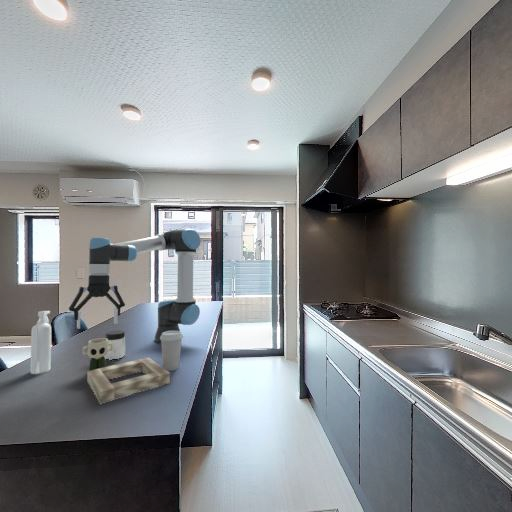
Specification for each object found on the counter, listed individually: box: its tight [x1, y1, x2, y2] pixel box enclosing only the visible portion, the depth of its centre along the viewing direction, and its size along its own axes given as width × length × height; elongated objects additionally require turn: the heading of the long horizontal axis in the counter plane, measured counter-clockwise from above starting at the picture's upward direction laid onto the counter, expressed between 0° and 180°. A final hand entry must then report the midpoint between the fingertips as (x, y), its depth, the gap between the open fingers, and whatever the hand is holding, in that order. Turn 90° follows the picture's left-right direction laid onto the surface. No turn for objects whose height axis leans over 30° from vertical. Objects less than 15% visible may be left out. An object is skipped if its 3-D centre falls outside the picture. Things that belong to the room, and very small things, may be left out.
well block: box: [86, 357, 171, 404], centre depth 102 cm, size 23×22×4 cm
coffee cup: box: [160, 330, 184, 372], centre depth 117 cm, size 10×10×15 cm
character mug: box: [81, 337, 113, 371], centre depth 112 cm, size 11×7×13 cm, turn 120°
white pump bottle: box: [29, 310, 52, 375], centre depth 113 cm, size 7×12×25 cm, turn 18°
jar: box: [104, 329, 126, 361], centre depth 129 cm, size 9×8×12 cm
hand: (97, 325), depth 112 cm, fingers open, 13 cm apart
